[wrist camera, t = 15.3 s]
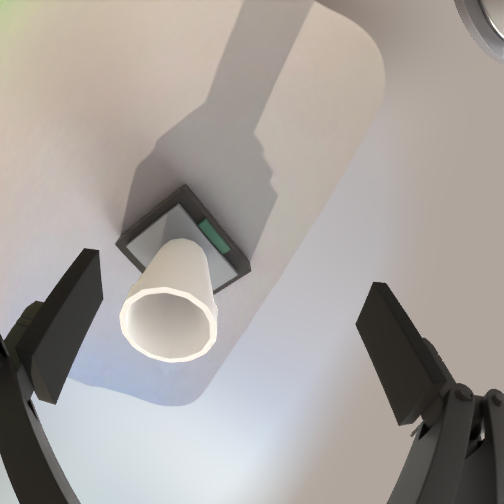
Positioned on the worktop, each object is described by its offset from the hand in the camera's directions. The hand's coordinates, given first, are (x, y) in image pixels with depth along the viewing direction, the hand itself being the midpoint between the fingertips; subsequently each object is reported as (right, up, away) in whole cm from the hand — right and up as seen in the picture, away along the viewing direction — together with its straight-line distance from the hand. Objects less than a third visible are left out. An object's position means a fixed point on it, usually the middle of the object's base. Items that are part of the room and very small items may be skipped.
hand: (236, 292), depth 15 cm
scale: (-8, +2, +28) cm, 30 cm away
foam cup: (-8, +1, +26) cm, 27 cm away
